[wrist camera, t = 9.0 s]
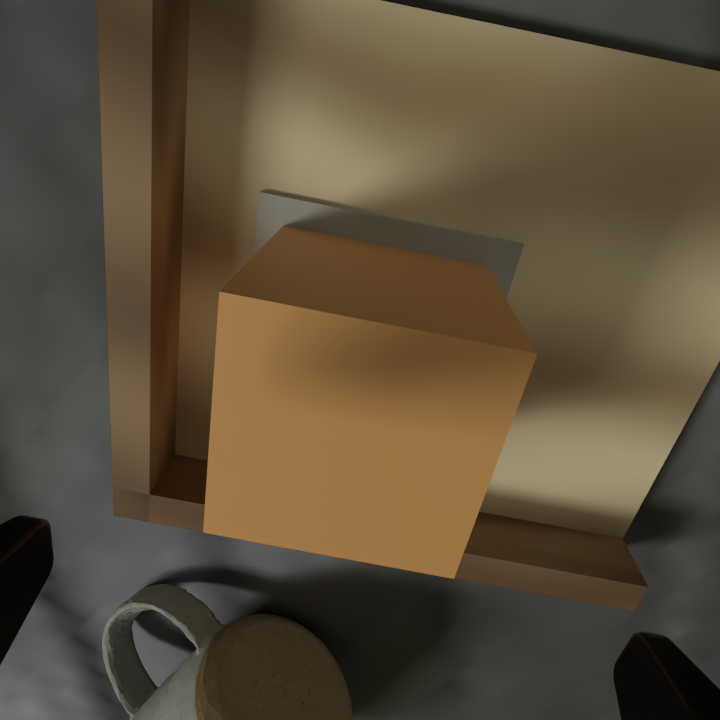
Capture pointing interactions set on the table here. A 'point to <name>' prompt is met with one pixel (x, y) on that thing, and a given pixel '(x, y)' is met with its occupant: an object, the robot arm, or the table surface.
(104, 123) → the arena
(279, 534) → the cube
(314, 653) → the ceramic mug
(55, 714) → the table surface
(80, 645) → the table surface
